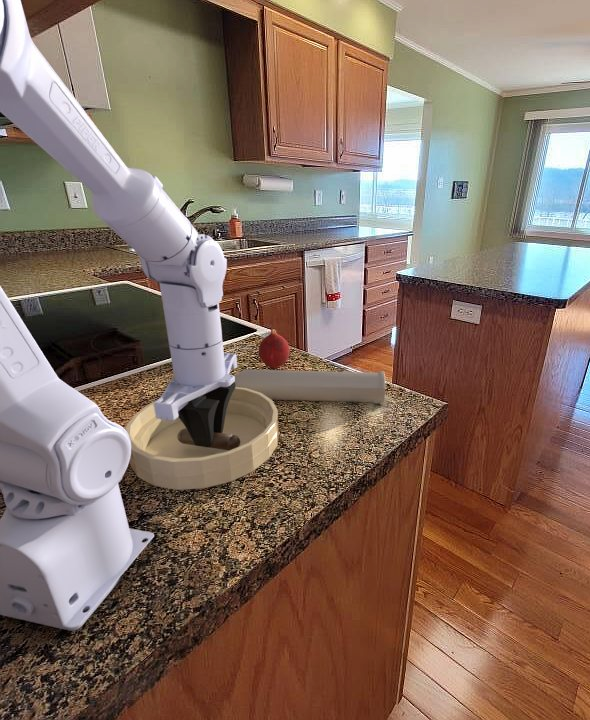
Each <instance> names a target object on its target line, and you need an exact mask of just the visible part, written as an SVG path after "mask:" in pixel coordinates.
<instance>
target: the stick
mask: <svg viewBox="0 0 590 720" xmlns="http://www.w3.org/2000/svg"><path fill="white" fill-rule="evenodd" d="M177 438H178V440H179V442H180V443H183V444H188V445H195V444H194V442H193V440H192V438H191V436H190V434H189V432H188V430H187V428H185V429H182V430H180V431H179V433H178V436H177ZM239 446H240V439H239V437H238V436H236V435H231V434H224V433H217V432H214V438H213V443H212V445H211V447H209V448H215V449H222V450H229V451H230V450H232V449H234V448H237V447H239Z"/></svg>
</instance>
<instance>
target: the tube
mask: <svg viewBox="0 0 590 720" xmlns="http://www.w3.org/2000/svg"><path fill="white" fill-rule="evenodd" d="M234 376H235V387H241V388H248V389H251V390H254V391H257V392H260V393H262V394H264V395H265V396H267V397H268V398H269V399H271V400H272V401H273V400H274V401H276V400H277V401H311V402H343V403H344V402H349V403H351V402H352V403H373V404H376V405H377V404H378V405H380V406H384V405H385V399H386V374H385V370H384V371H383V370H382V371H380V372H365V371H330V370H329V371H328V370H327V371H325V370H291V369H289V370H288V369H286V370H285V369H253V368H252V369H250V368H249V369H248V368H247V369H246V368H245V369H242V370H241V371H239V372H238V373H236V374H235V375H234Z"/></svg>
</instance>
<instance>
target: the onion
mask: <svg viewBox="0 0 590 720" xmlns="http://www.w3.org/2000/svg"><path fill="white" fill-rule="evenodd" d="M290 354H291V351H290V345H289V343H288V342H287V339H286V338H284V337H283V336H282V335H280V334H278V332H277V330H276V329H273V328H272V329H270V333H269V334H268V335H267V336H266V337H264V338H263V339H262V340H261V342H260V343H259V347H258V356H259V360H261V362H262V363H263V364H264V365H266V366H267V367H269V368H271V370H278V368H280V367H281V366H283V365H284V364H285V363H286V362H287V361H288V359H289V358H290Z"/></svg>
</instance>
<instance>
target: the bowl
mask: <svg viewBox="0 0 590 720" xmlns="http://www.w3.org/2000/svg"><path fill="white" fill-rule="evenodd" d="M156 401H157V400H155V401H151V402H150V403H149V404H147V405H146V406H144V407H143V408H141V409H140V410H139V411H138V412H136V413H135V414H133V416H132V417H131V419H130V420H129V421H128V423H127V424H126V425H125V428H124V429H125V430H126V431H127V433H128V435H129V437H130V441H131V456H130V460H129V465H130V467H131V469H132V470H133V472H134V473H135V475H136V476H137V477H138V479H140V480H143V481H144V482H146V483H147V484H150V485H152V486H153V487H156V488H157V487H158V488H164V489H168V490H169V489H170V490H176V491H181V490H185V491H186V490H199V489H200V490H201V489H202V490H203V489H207V488H211V487H215V486H219V485H224V484H227V483H231V482H234V481H236V480H238V479H240V478H242V477H244V476H246V475H249V474H251V473H253V472H254V471H255V470H257V469H258V468H259V467H260V466H262V465H263V464H264V463H265V462H267V461H268V460H269V459H270V458H271V456H272V455H273V453H274V452H275V450H276V449H277V447H278V445H279V444H278V443H279V434H280V431H279V410H278V408H277V406H276V404H275V403H274V401H273V400H271V399H269V398H268V397H267V396H265V395H264V394H262V393H260V392H257V391H254V390H251V389H248V388H241V387H235V389H234V391H233V393H232V395H231V397H230V400H229V403H228V406H227V410H226V416H225V422H224V428H223V432H222V433H224V434H231V435H236V436H238V437H239V439H240V446H239V447H237V448H234V449H232V450H230V451H229V450H222V449H215V448H208V447H201V446H195V445H188V444H183V443H180V442H179V440H178V438H177V436H178V433H179V431H180V430H182V429H185V428H186V427H185V425H184V424H183V422H182V421H181V420H180V419H179V417H177V418H176V419H175V420H174V421H171V420H163V419H157V418H156V413H155V407H154V402H156Z"/></svg>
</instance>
